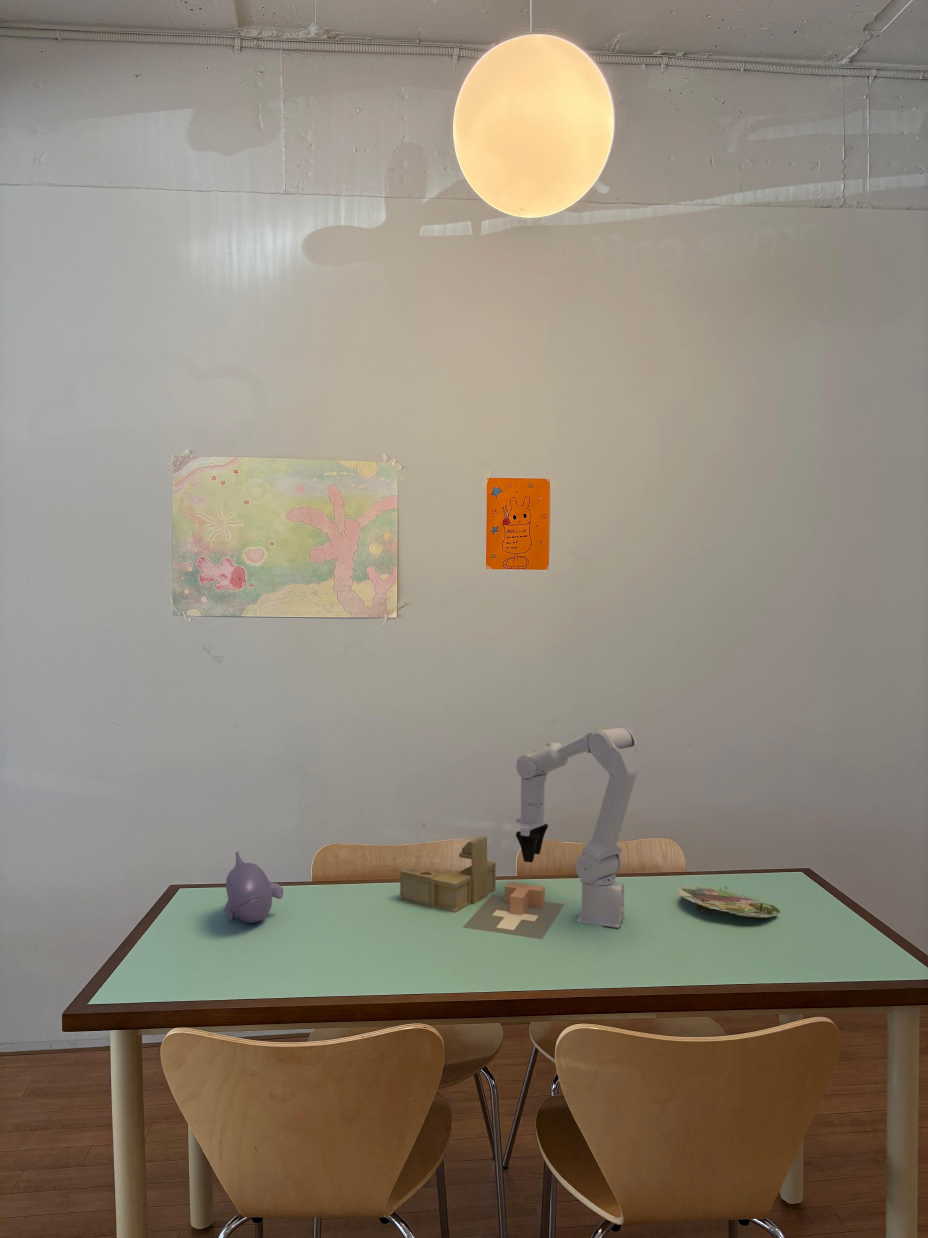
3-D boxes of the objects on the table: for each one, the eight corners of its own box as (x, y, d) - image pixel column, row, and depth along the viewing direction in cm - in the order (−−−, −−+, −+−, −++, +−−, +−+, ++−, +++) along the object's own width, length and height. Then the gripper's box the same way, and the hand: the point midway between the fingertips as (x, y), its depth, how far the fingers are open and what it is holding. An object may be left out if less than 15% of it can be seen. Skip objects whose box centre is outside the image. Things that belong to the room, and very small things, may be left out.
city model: (804, 925, 193) (806, 898, 193) (741, 934, 180) (743, 906, 180) (717, 895, 214) (718, 871, 214) (654, 902, 200) (656, 876, 201)
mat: (564, 905, 198) (564, 904, 198) (542, 940, 177) (542, 939, 177) (492, 895, 204) (492, 894, 204) (462, 928, 183) (462, 927, 183)
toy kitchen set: (442, 880, 216) (443, 822, 216) (498, 892, 207) (498, 832, 206) (399, 901, 200) (400, 838, 200) (457, 915, 191) (458, 850, 191)
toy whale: (226, 943, 175) (200, 872, 176) (235, 918, 200) (213, 856, 201) (287, 916, 178) (262, 847, 179) (289, 895, 203) (267, 834, 204)
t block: (544, 903, 198) (544, 887, 198) (535, 917, 189) (535, 899, 189) (508, 899, 201) (508, 882, 201) (497, 911, 192) (497, 894, 192)
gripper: (524, 794, 212) (524, 847, 212) (508, 807, 198) (508, 864, 198) (551, 797, 209) (551, 850, 210) (537, 810, 196) (536, 867, 196)
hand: (532, 857), depth 204 cm, fingers open, 6 cm apart
